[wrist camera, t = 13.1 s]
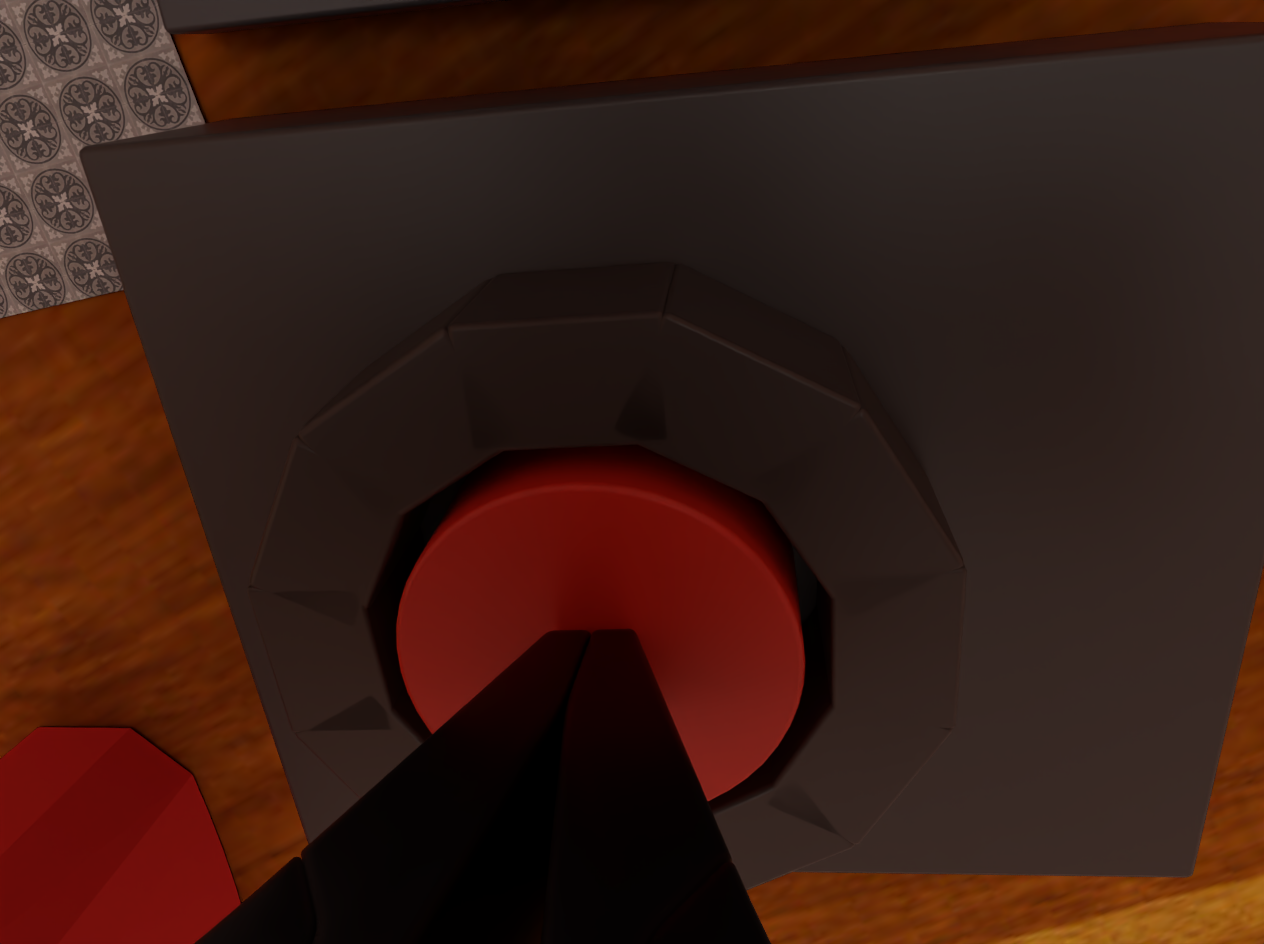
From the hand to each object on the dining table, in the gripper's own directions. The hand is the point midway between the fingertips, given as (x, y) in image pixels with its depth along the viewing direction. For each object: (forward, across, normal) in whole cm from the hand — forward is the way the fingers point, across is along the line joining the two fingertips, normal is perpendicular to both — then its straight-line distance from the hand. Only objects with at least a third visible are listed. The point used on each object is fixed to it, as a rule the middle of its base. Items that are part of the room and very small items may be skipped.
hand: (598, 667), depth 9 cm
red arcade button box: (+5, -1, 0) cm, 5 cm away
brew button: (+2, 0, 0) cm, 2 cm away
